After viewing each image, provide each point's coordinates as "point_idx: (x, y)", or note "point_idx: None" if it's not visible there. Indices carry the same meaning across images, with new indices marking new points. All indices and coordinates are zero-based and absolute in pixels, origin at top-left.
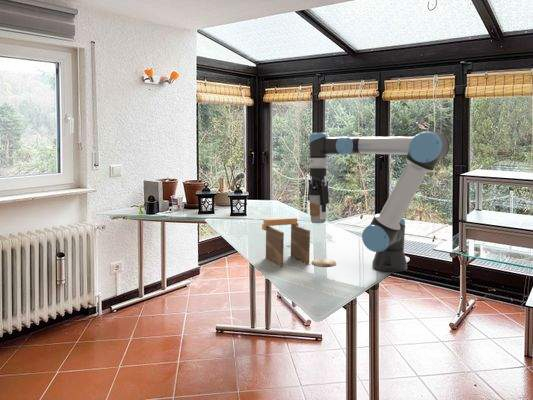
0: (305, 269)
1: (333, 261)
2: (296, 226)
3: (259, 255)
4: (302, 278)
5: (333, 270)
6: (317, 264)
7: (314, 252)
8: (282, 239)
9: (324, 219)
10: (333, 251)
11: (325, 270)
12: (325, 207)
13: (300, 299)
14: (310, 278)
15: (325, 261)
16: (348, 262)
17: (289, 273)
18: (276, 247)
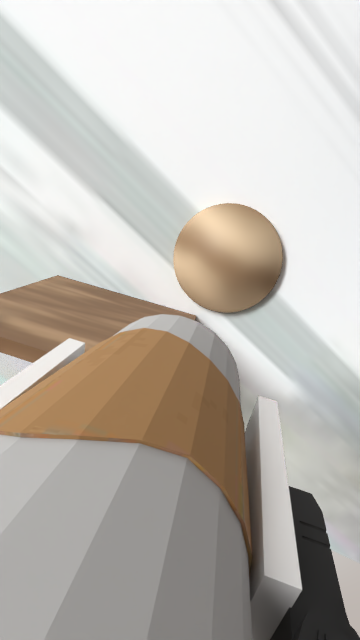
0: (245, 379)
1: (244, 212)
2: (5, 353)
3: (6, 367)
4: (321, 461)
5: (333, 309)
6: (236, 310)
7: (48, 144)
8: None
9: (234, 371)
10: (71, 24)
11: (308, 334)
12: (330, 572)
13: None
14: (342, 445)
15: (221, 245)
16: (289, 137)
17: None
18: None
